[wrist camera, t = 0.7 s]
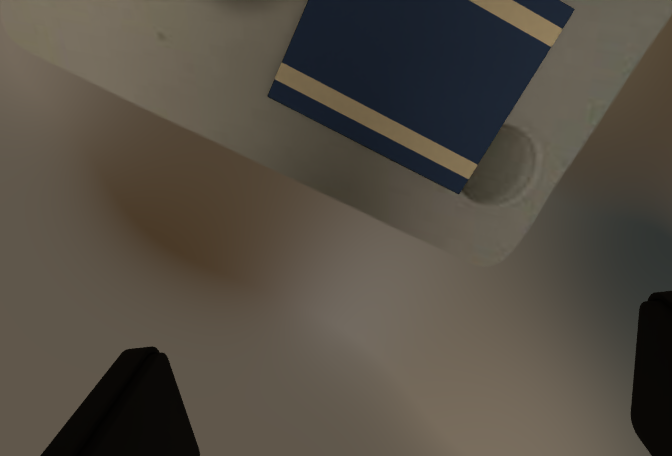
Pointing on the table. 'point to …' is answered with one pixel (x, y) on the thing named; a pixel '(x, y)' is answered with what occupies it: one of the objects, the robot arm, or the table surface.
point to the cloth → (417, 74)
